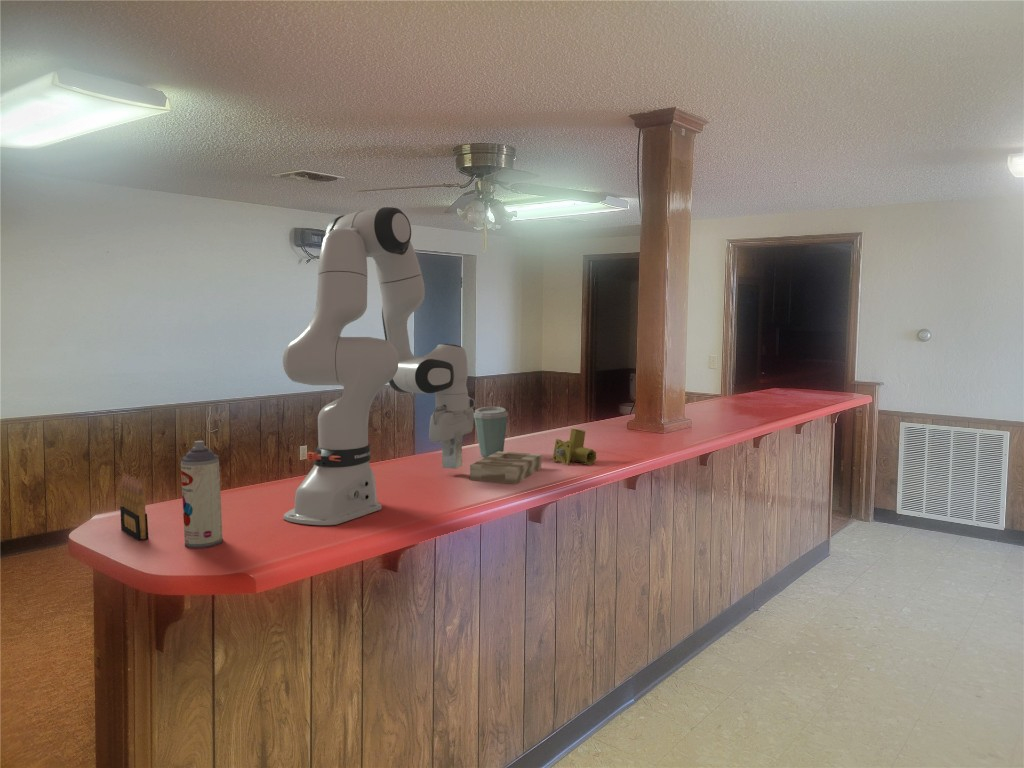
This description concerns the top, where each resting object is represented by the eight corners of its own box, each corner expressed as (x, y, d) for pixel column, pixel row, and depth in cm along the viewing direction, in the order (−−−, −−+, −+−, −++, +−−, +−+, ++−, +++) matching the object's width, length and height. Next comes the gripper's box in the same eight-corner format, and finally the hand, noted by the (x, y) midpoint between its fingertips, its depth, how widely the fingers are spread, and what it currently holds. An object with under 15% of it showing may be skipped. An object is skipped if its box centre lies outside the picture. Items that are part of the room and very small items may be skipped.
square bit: (455, 468, 197) (455, 432, 196) (442, 467, 198) (442, 431, 197) (462, 466, 201) (461, 430, 200) (448, 465, 202) (448, 429, 201)
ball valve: (566, 459, 224) (542, 459, 218) (571, 426, 223) (547, 425, 217) (596, 469, 214) (571, 469, 208) (601, 434, 214) (577, 433, 207)
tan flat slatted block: (516, 483, 189) (516, 468, 189) (470, 479, 194) (470, 465, 194) (541, 468, 208) (541, 454, 208) (498, 464, 213) (498, 451, 212)
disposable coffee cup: (508, 460, 219) (508, 410, 217) (472, 460, 219) (472, 411, 217) (508, 453, 229) (508, 406, 228) (474, 453, 229) (473, 406, 228)
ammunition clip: (148, 539, 145) (145, 479, 143) (138, 541, 143) (135, 481, 142) (130, 527, 152) (127, 471, 151) (121, 529, 151) (117, 472, 150)
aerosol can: (181, 541, 143) (176, 440, 141) (217, 535, 147) (213, 437, 145) (189, 550, 138) (184, 446, 135) (226, 543, 142) (222, 442, 139)
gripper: (444, 408, 187) (445, 461, 188) (477, 400, 206) (477, 448, 207) (422, 407, 189) (423, 459, 191) (457, 399, 208) (457, 447, 210)
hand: (452, 453), depth 199 cm, fingers closed on square bit, 4 cm apart
